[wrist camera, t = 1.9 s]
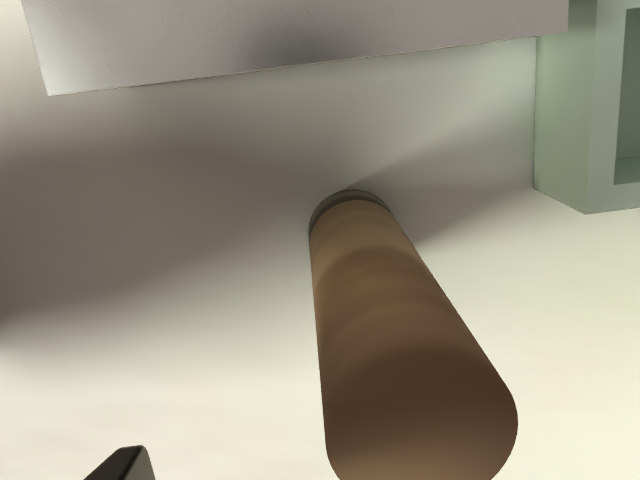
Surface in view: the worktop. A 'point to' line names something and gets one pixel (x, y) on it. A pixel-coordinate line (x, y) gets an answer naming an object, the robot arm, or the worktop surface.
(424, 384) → the brown rod
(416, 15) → the grey block with hole
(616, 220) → the worktop surface
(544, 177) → the holder cup
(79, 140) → the worktop surface
